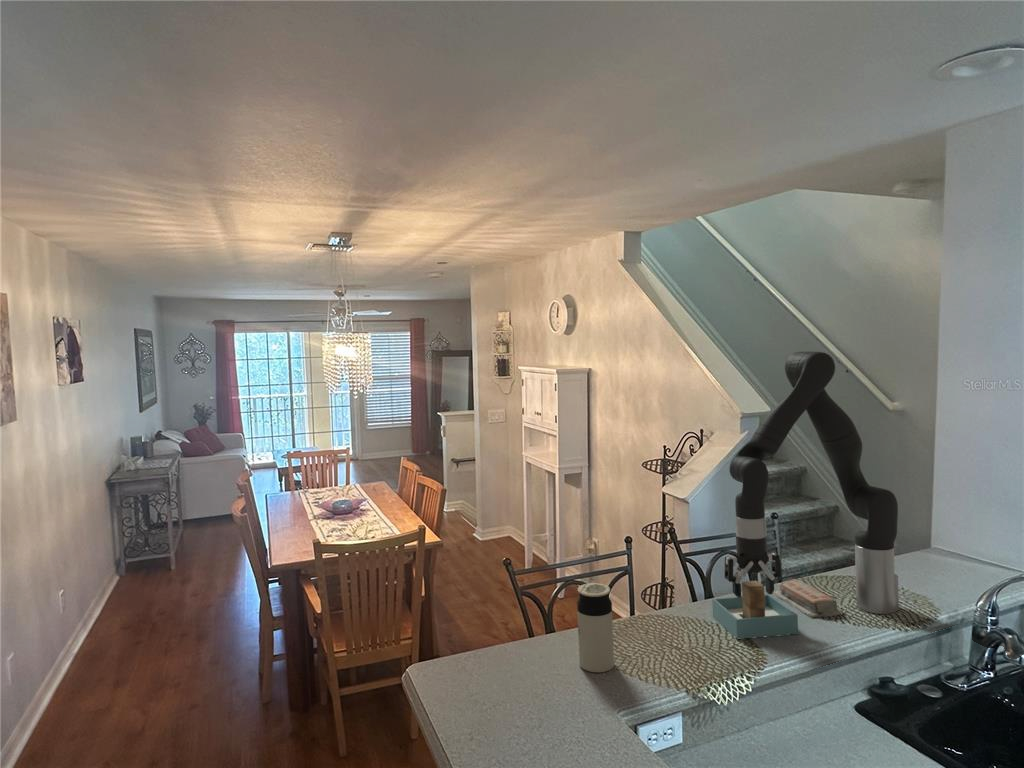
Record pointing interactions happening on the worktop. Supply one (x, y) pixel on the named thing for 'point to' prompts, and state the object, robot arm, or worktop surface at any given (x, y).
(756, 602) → the brown wooden block
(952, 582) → the worktop surface
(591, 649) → the travel mug
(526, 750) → the worktop surface
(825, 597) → the packaged product
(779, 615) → the walled box
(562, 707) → the worktop surface
